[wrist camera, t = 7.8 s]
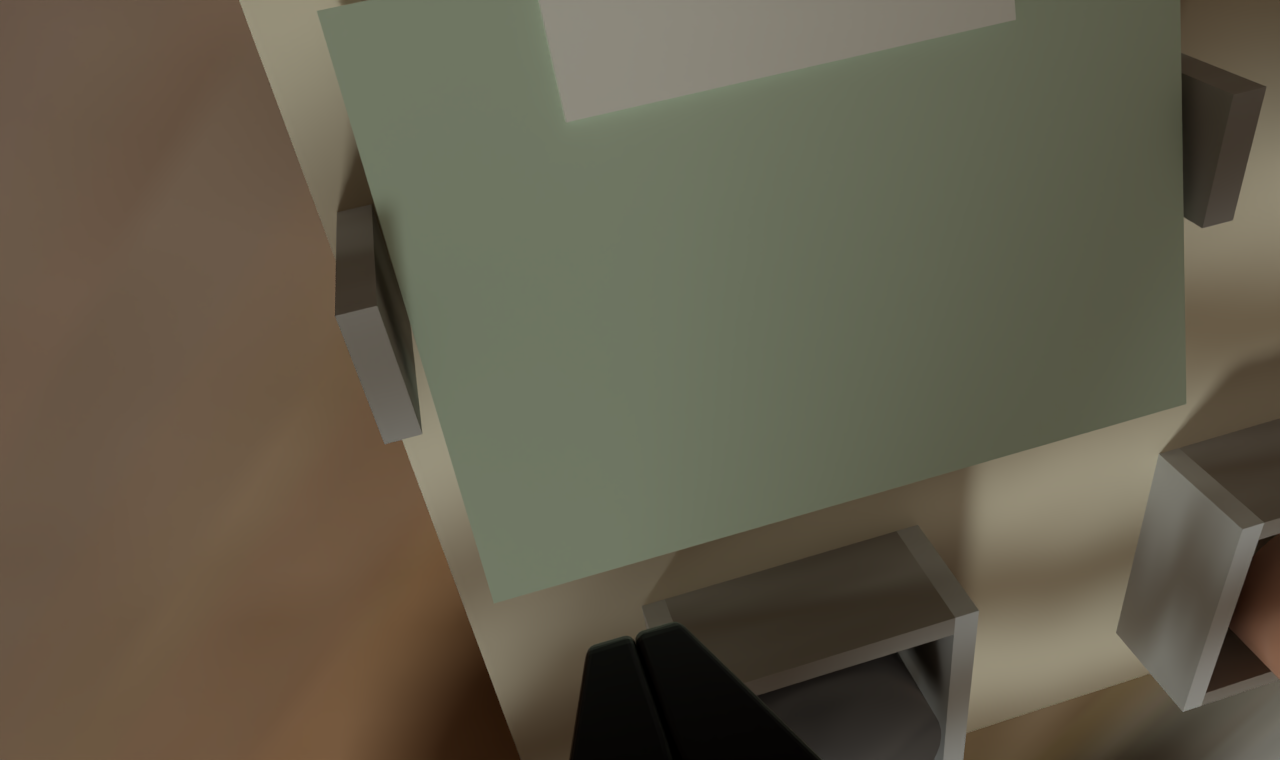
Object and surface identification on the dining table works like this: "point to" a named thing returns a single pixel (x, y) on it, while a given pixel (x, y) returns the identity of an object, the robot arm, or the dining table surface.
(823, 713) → the black button
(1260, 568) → the terracotta button
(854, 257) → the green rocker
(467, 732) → the dining table surface
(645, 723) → the robot arm
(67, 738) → the dining table surface
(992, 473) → the control panel
